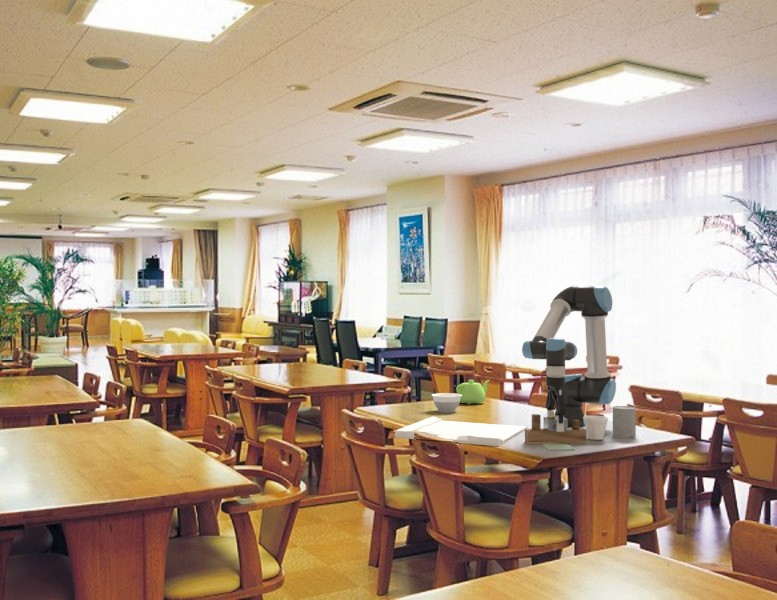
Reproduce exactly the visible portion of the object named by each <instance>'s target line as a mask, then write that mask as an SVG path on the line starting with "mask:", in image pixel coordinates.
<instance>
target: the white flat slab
mask: <svg viewBox="0 0 777 600" xmlns="http://www.w3.org/2000/svg"><path fill="white" fill-rule="evenodd" d="M525 429H528V426H526V425H525V426H524V425H510V424H495V423H483V422H482V423H481V422H467V421H455V420H454V421H453V420H443V418H440V417H439V418H438V417H436V416H434V415H433V416H431V417H428V418H425V419H422V420H419V421H417V422H415V423H411V424H409V425H406V426H404V427H401V428H399V429H396V430H394V431H395V433H394V438H396V439H405V440H406V439H408V440H415V439H414V437H415V436H414V434H415V433H416V432H417V431H420V433H425V434H428V435H432V436H436V437H441V438H445V439H449V440H453V441H456V442H458V443H457V444H467V445H468V444H469V445H480V446H482V445H483V446H493V447H501V446H502V445H503V444H505V443H507V442H508V441H510V440H512V439H513V438H515V437H517V436H518V435H520V434H522V433H523V432H524V433H525ZM414 430H417V431H414Z"/></svg>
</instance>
